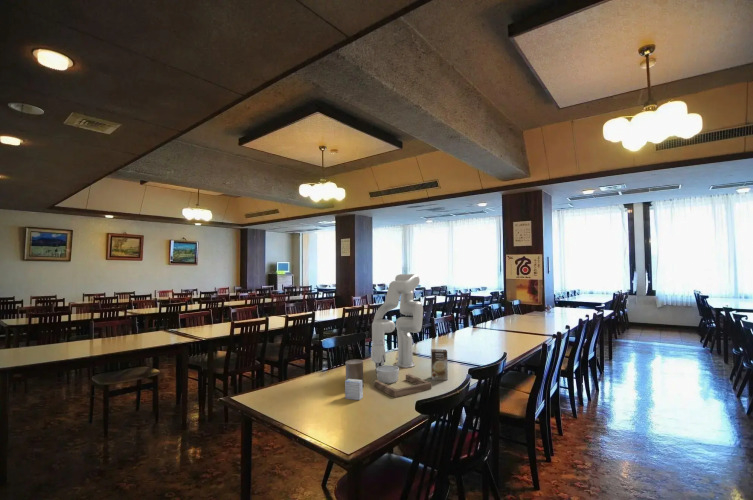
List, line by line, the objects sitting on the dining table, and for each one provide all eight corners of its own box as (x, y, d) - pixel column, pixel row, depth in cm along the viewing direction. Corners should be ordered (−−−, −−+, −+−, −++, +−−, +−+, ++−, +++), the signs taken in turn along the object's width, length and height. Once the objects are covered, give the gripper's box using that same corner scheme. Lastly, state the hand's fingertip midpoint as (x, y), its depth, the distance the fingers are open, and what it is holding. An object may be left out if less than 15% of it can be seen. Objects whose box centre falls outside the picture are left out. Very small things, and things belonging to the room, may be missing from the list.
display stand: (374, 386, 195) (374, 380, 195) (408, 379, 206) (408, 373, 207) (395, 397, 177) (395, 391, 177) (431, 388, 189) (431, 383, 189)
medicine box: (363, 397, 178) (362, 379, 178) (359, 400, 174) (359, 382, 174) (348, 395, 180) (348, 378, 181) (344, 399, 176) (344, 381, 177)
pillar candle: (367, 386, 194) (366, 358, 195) (354, 391, 187) (353, 362, 188) (355, 383, 201) (354, 356, 202) (341, 387, 194) (341, 359, 195)
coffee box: (431, 380, 204) (431, 351, 205) (431, 376, 210) (430, 349, 211) (448, 380, 203) (447, 351, 204) (447, 376, 209) (446, 349, 210)
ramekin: (392, 385, 195) (391, 372, 195) (371, 381, 202) (371, 369, 203) (403, 379, 206) (403, 366, 207) (383, 375, 213) (383, 364, 214)
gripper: (367, 341, 218) (367, 371, 217) (379, 345, 205) (379, 378, 204) (377, 339, 222) (378, 369, 221) (390, 343, 209) (391, 375, 208)
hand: (378, 373), depth 212 cm, fingers closed
